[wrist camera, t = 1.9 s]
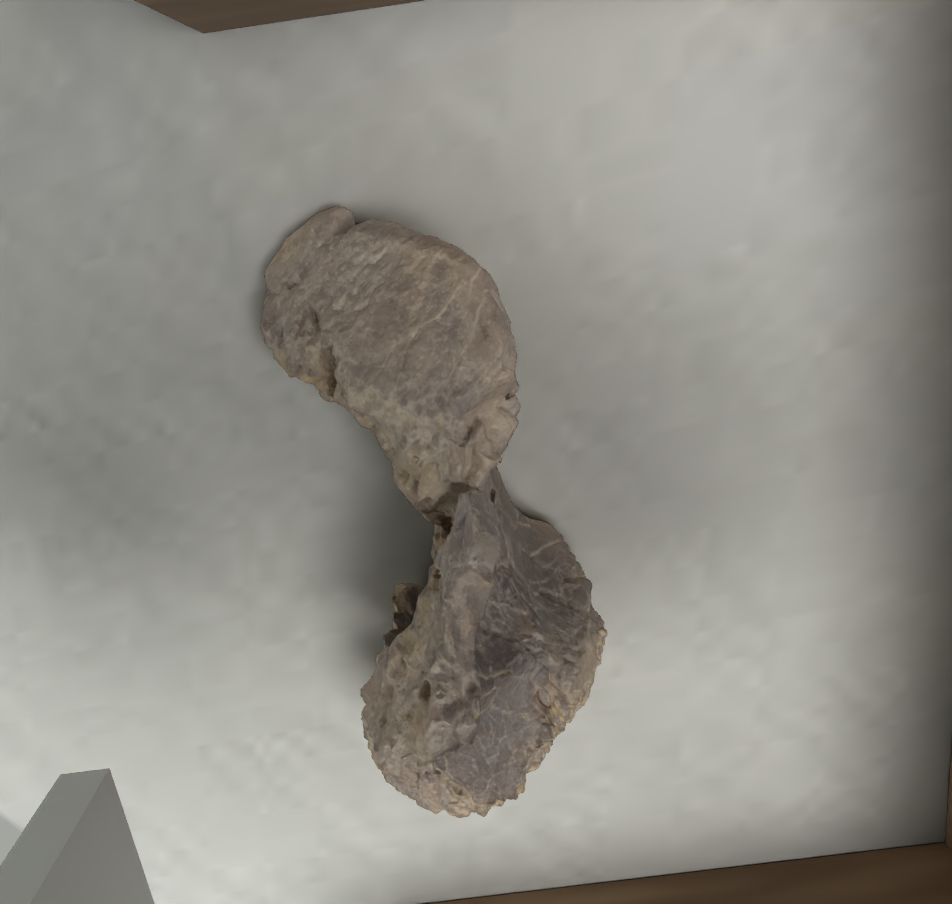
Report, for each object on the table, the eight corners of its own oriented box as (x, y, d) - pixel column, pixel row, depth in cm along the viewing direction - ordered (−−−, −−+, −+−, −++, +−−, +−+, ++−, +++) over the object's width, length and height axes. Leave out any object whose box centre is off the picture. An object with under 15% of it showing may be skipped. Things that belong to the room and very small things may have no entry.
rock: (511, 168, 19) (541, 178, 12) (610, 702, 24) (670, 923, 17) (256, 225, 19) (144, 265, 12) (404, 741, 24) (383, 973, 17)
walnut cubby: (191, -21, 17) (-135, -235, 8) (1058, -152, 17) (1833, -548, 7) (399, 932, 26) (365, 1380, 16) (977, 864, 25) (1284, 1285, 16)
